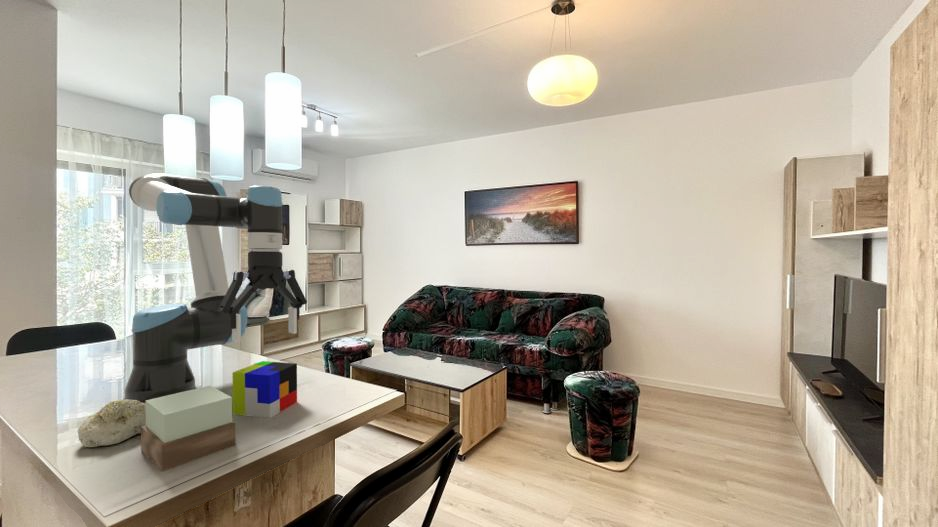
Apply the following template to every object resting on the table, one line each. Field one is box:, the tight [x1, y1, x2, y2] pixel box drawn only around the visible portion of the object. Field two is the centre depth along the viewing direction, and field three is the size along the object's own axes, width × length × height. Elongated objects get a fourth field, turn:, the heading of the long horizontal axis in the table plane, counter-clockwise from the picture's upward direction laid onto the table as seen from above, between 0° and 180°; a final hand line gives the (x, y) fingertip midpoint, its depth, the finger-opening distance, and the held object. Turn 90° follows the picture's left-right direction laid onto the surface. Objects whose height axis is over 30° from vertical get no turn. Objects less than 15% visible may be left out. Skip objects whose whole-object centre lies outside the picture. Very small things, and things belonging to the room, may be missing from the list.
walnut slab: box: [140, 419, 237, 472], centre depth 78 cm, size 12×12×5 cm
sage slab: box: [144, 385, 233, 443], centre depth 78 cm, size 11×11×5 cm
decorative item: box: [77, 398, 146, 448], centre depth 82 cm, size 12×9×10 cm
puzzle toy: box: [232, 360, 298, 419], centre depth 97 cm, size 10×10×10 cm
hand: (266, 337), depth 97 cm, fingers open, 13 cm apart
